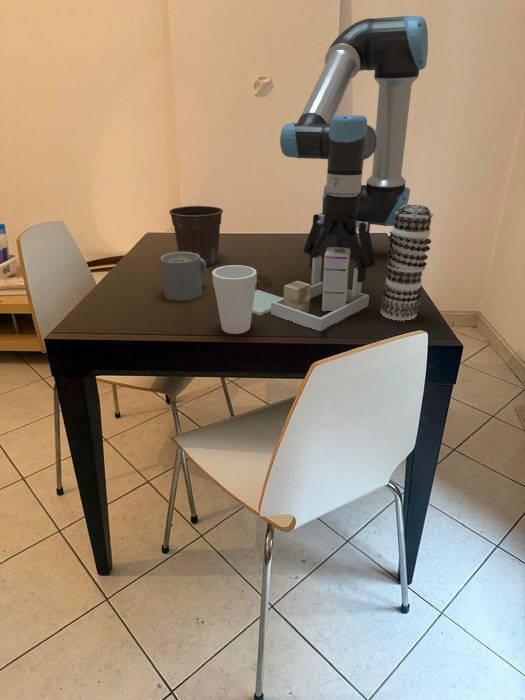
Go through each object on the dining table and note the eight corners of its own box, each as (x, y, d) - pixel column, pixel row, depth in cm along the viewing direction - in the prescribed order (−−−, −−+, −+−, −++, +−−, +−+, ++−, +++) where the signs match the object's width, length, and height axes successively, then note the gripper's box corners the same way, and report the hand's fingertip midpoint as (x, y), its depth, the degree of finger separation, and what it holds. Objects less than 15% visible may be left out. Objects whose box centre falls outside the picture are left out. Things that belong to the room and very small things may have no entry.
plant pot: (191, 252, 158) (188, 203, 150) (233, 258, 152) (232, 207, 144) (163, 265, 145) (158, 212, 137) (207, 272, 139) (204, 217, 131)
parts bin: (320, 292, 124) (321, 281, 123) (368, 306, 115) (369, 295, 114) (270, 314, 111) (270, 302, 110) (320, 332, 102) (321, 319, 101)
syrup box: (345, 313, 112) (350, 254, 105) (320, 311, 113) (324, 252, 106) (346, 304, 116) (351, 247, 110) (322, 302, 118) (326, 246, 111)
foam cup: (215, 319, 108) (212, 265, 102) (254, 318, 109) (254, 264, 103) (215, 337, 100) (212, 279, 94) (258, 336, 100) (257, 278, 94)
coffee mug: (177, 304, 116) (173, 265, 112) (157, 293, 123) (153, 256, 118) (220, 291, 124) (218, 255, 120) (199, 282, 131) (196, 247, 126)
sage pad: (257, 292, 124) (257, 289, 123) (289, 303, 117) (289, 300, 117) (227, 303, 117) (227, 300, 116) (260, 315, 110) (260, 312, 110)
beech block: (296, 307, 115) (297, 280, 112) (309, 311, 112) (310, 284, 109) (283, 313, 112) (283, 285, 108) (296, 318, 109) (297, 289, 106)
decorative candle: (371, 314, 111) (384, 207, 99) (390, 303, 117) (404, 201, 105) (407, 325, 106) (425, 213, 94) (424, 313, 112) (444, 206, 100)
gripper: (290, 189, 106) (287, 281, 117) (381, 202, 92) (369, 305, 103) (310, 186, 111) (306, 274, 122) (400, 198, 97) (386, 296, 108)
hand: (335, 288), depth 112 cm, fingers open, 11 cm apart
